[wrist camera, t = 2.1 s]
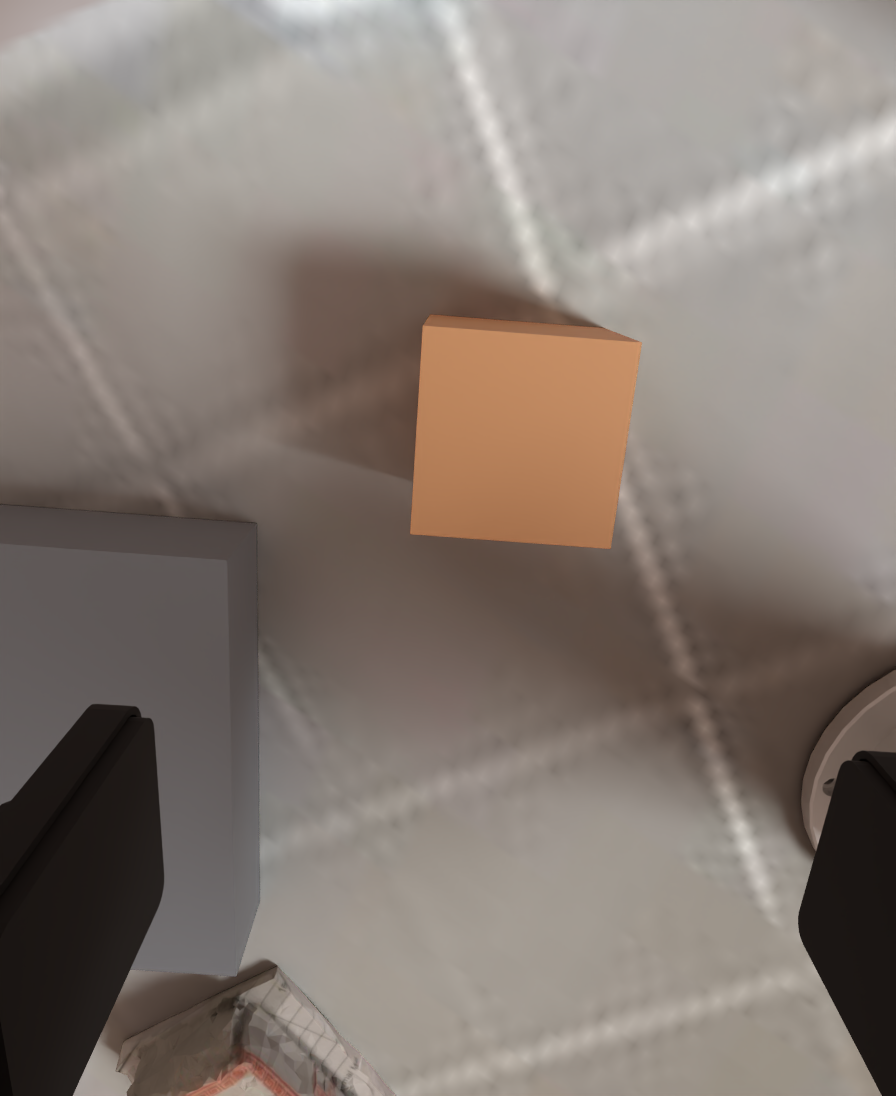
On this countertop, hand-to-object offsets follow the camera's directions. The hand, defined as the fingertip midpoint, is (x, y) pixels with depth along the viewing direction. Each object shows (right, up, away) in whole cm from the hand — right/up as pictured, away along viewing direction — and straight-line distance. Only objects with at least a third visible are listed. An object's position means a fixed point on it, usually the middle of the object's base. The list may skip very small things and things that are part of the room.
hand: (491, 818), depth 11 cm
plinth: (-17, -3, +22) cm, 28 cm away
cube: (+2, +9, +17) cm, 19 cm away
